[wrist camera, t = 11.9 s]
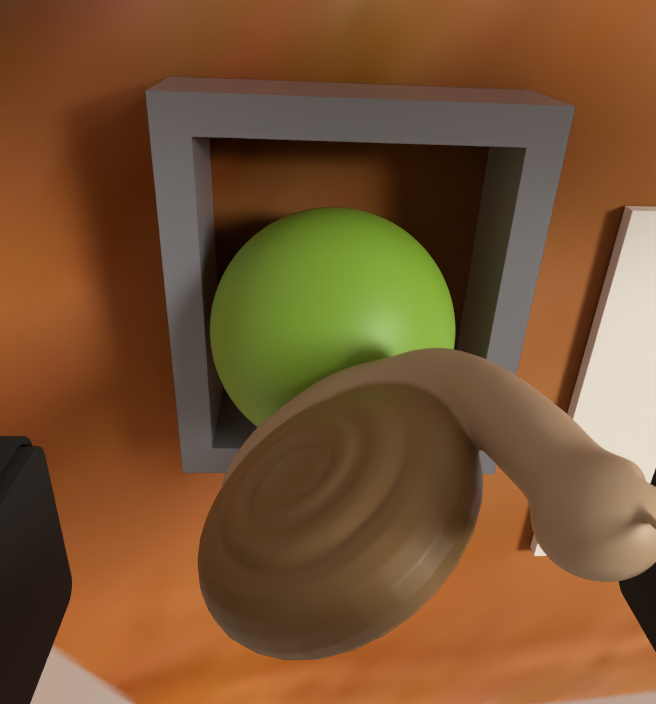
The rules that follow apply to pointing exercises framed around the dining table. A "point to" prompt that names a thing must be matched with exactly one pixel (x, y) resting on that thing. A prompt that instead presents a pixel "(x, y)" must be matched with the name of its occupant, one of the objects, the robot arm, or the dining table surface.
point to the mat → (623, 351)
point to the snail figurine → (379, 444)
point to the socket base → (346, 126)
